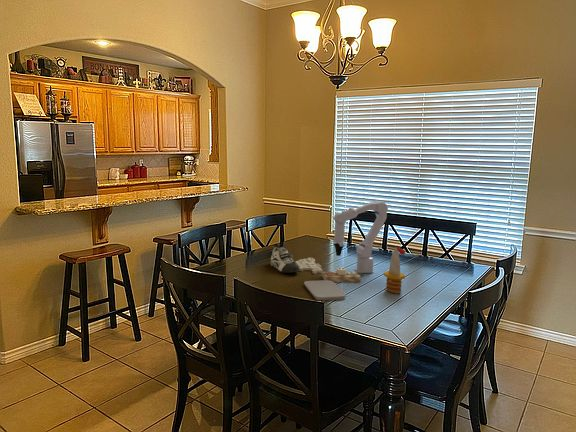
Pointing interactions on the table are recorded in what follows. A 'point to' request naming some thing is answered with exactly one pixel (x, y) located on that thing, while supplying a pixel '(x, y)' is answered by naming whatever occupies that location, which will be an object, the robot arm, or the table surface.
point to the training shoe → (283, 261)
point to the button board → (342, 277)
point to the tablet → (324, 290)
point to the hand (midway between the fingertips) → (338, 255)
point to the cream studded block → (341, 271)
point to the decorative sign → (309, 265)
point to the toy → (394, 272)
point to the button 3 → (330, 273)
